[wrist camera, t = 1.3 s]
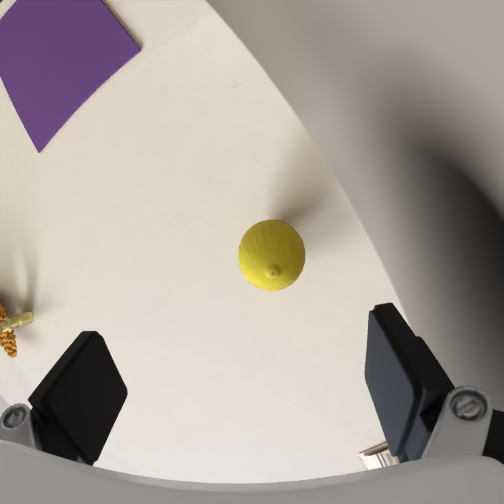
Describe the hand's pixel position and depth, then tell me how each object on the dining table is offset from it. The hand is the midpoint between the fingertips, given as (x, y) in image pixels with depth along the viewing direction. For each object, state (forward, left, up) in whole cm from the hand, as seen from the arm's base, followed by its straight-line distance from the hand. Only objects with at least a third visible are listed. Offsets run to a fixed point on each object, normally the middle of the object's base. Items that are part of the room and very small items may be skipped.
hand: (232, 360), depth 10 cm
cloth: (-16, -29, -20) cm, 39 cm away
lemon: (+2, +2, -20) cm, 21 cm away
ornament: (+23, -32, -20) cm, 44 cm away
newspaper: (+41, +37, -20) cm, 59 cm away
